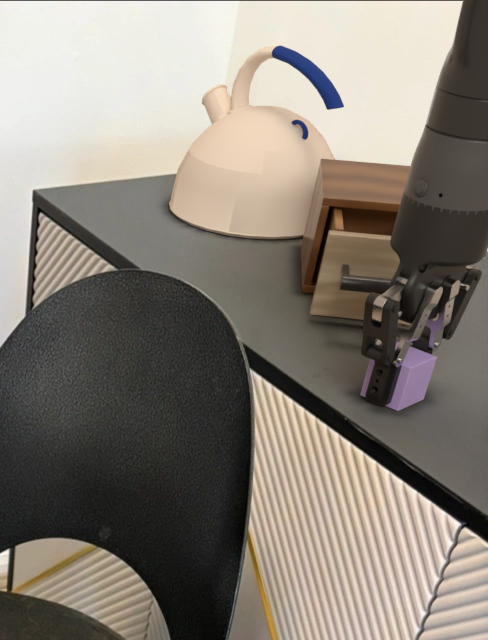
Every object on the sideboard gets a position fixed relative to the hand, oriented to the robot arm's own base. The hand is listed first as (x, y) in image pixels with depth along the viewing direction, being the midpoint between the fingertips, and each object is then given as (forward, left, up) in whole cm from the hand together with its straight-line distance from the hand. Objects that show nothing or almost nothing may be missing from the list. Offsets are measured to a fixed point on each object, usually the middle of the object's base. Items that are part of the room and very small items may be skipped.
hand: (392, 394), depth 99 cm
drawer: (+2, -20, +1) cm, 20 cm away
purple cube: (0, 0, 0) cm, 0 cm away
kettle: (+14, -50, 0) cm, 52 cm away
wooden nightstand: (+2, -31, 0) cm, 31 cm away
